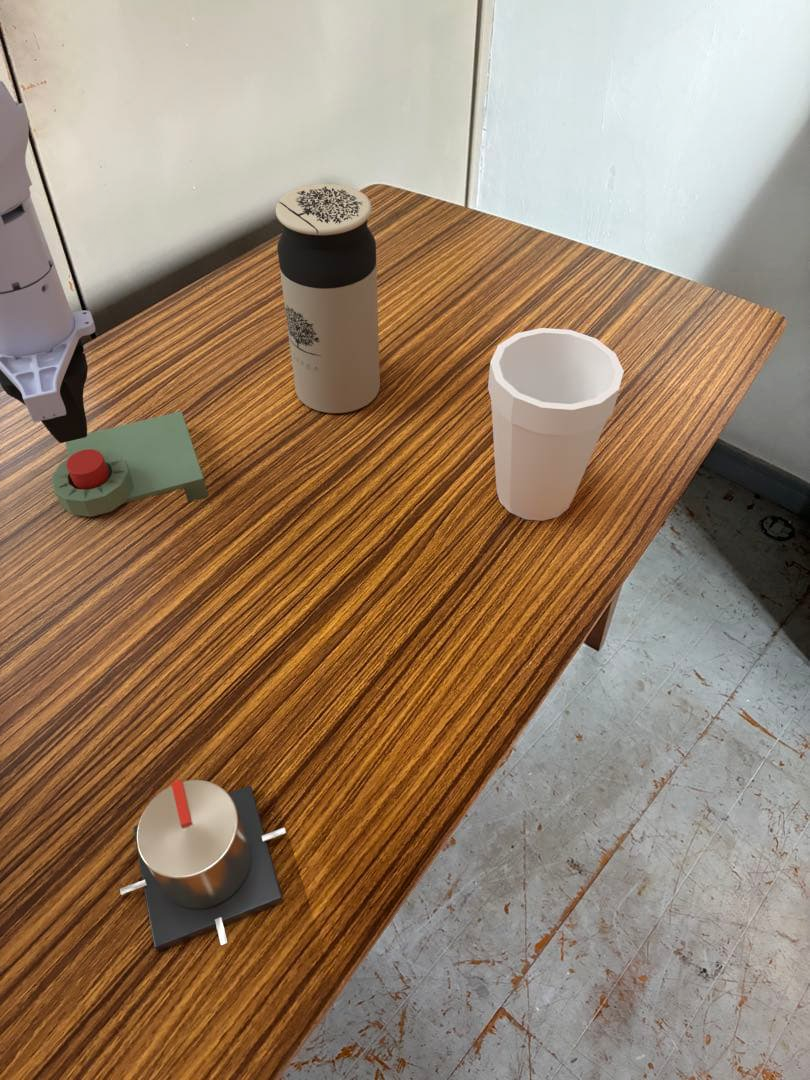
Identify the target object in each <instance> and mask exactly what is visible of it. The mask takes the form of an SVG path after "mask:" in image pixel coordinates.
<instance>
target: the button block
mask: <svg viewBox="0 0 810 1080" xmlns="http://www.w3.org/2000/svg"><path fill="white" fill-rule="evenodd" d="M64 443H65V448H66V453H67V458H66V459H65V460H64V461H62V462H61V463H59V464H58V466H57V467H56V469H55V471H54V473H53V474H52V476H51V482H52V488H53V492H54V494H55V496H56V498H57V500H58V503H59V504H60V506H61V507H62V508H64V510H66V511H67V512H69V513H70V514H71V515H73V516H79V517H88V518H89V517H90V518H91V517H96V516H99V515H103V514H108V513H111V512H113V511H114V510H116V509H117V508H118V507H120V506H121V505H123V504H128V503H131V502H135V501H138V500H142V499H145V498H150V497H153V496H157V495H161V494H165V493H169V492H172V491H177V490H180V489H183V490H184V494H185V497H186V501H187V502H188V503H189V502H193V501H197V500H199V499H205V498H207V497H209V493H208V489H207V484H206V481H205V478H204V475H203V472H202V469H201V465H200V463H199V459H198V457H197V453H196V449H195V447H194V444H193V441H192V438H191V434H190V432H189V428H188V425H187V423H186V419H185V416H184V414H183V411H182V410H180V411H175V412H171V413H168V414H167V413H166V414H163V415H159V416H155V417H150V418H146V419H142V420H139V421H138V420H137V421H135V422H134V421H133V422H130V423H126V424H121V425H117V426H114V427H109V428H105V429H100V430H96V431H92V432H87V437H85V438H81V439H77V440H72V441H68V442H64ZM87 449H92V450H96V451H99V452H100V453H101V454H102V455H103V457H104V460H105V462H106V465H107V468H108V470H109V478H108V480H107V481H106V482H105V483H104V484H102V485H101V486H99V487H97V488H93V489H89V490H83V489H79V488H77V487H76V486H75V485H74V483H73V481H72V479H71V477H70V474H69V472H68V470H67V467H66V464H67V461H68V459H69V458H70V457H71V456H72V455H73V454H75V453H76V452H79V451H82V450H87Z"/></svg>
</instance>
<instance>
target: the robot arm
mask: <svg viewBox="0 0 810 1080" xmlns="http://www.w3.org/2000/svg"><path fill="white" fill-rule="evenodd" d="M29 127H30V126H29V118H28V113H27V109H26V104H24V103H22V102H21V103H20V102H18V101H16V100H15V99H14V97H13V96H12V95H11V93H10V91H9V90H8V88H7V86H6V84H5V83H4V82H3V81H2V80H0V387H1V388H2V389H3V391H4V392H5V393H6V395H8V396H9V397H11V398H13V399H15V400H17V401H18V402H19V403H21V404H23V405H24V406H26V408H27V411H28V413H29V415H30V418H31V420H32V422H33V423H38V422H41V424H43V426H44V427H45V429H46V430H47V431H48V432H49V433H50V435H51V436H52V437H53V438H54V439H55V440H56V441H57V442H58V443H59V444H64V443H65V442H68V441H72V440H77V439H81V438H85V437H87V434H88V421H87V418H86V417H87V416H86V411H85V403H84V389H85V385H86V381H87V378H88V373H89V371H88V369H89V368H88V360H87V357H86V353H84V351H85V348H84V343H83V339H82V337H86V336H90V335H92V334H94V333H95V332H96V325H95V321H94V318H93V315H92V312H91V311H89V310H86V309H85V310H83V309H82V310H77V311H73V310H71V307H70V305H69V301H68V299H67V296H66V293H65V290H64V287H63V284H62V282H61V279H60V276H59V273H58V269H57V268H56V265H55V262H54V258H53V256H52V253H51V251H50V248H49V245H48V242H47V239H46V237H45V233H44V231H43V227H42V225H41V222H40V219H39V217H38V214H37V210H36V208H35V205H34V202H33V200H32V196H31V189H30V187H31V186H32V185H33V182H32V180H31V176H30V175H29V171H28V167H27V161H26V156H27V149H28V144H29V137H30V135H29V134H30V133H29V132H30V130H29Z"/></svg>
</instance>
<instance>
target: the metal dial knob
mask: <svg viewBox="0 0 810 1080" xmlns="http://www.w3.org/2000/svg"><path fill="white" fill-rule="evenodd" d="M228 793H229V792H228V791H227V790H226V789H224V788H223V787H221V786H220V785H218V784H216V783H215V782H212V781H209V780H203V779H188V780H187V779H186V780H182V779H178V780H175V781H173V782H171V783H170V785H169V786H168V787H166V788H164V789H162V790H161V791H160V792H158V793H157V795H155V796H154V797H153V798H152V799H151V801H149V803H148V804H147V806H145V808H144V810H143V812H142V813H141V816H140V818H139V821H138V824H137V825H138V828H137V838H136V840H137V847H136V849H137V848H138V851H139V854H140V856H141V858H142V860H143V861H144V863H145V864H146V866H147V867H148V869H149V870H150V872H151V873H152V875H153V876H154V878H155V879H156V880H157V882H158V883H159V885H160V886H161V888H162V889H163V891H164V892H165V893H166V895H167V896H168V897H169V898H170V899H171V900H172V901H174V902H175V903H177V904H179V905H181V906H183V907H187V908H193V909H203V908H208V907H212V906H215V905H217V904H219V903H221V902H223V901H225V900H226V899H228V898H229V897H230V896H232V895H233V894H234V893H235V892H236V891H237V890H238V888H239V887H240V886H241V885H242V883H243V881H244V880H245V878H246V876H247V874H248V871H249V868H250V864H251V846H250V842H249V839H248V836H247V834H246V831H245V829H244V826H243V823H242V821H241V818H240V816H239V813H238V811H237V808H236V805H235V803H234V801H233V799H232V798H231V796H230V795H229V794H228Z"/></svg>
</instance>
